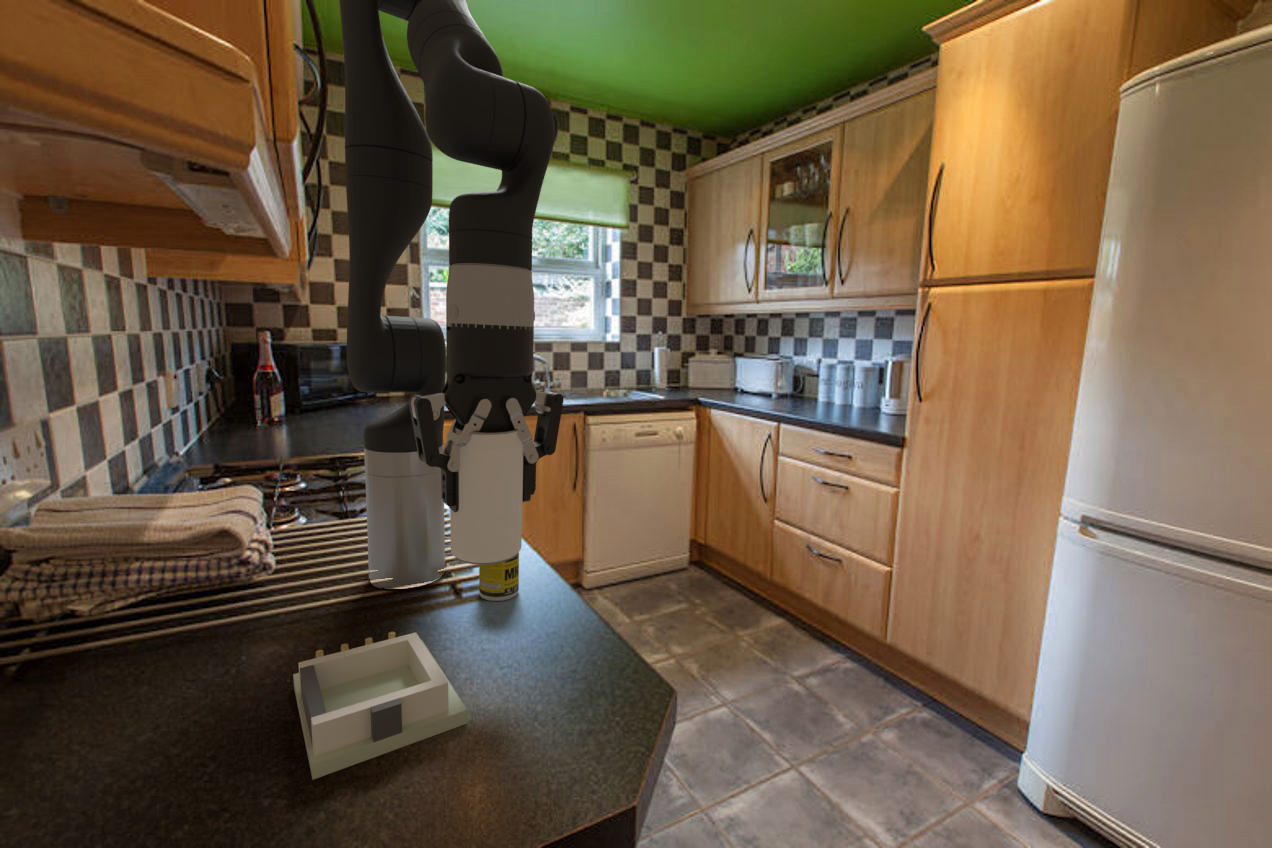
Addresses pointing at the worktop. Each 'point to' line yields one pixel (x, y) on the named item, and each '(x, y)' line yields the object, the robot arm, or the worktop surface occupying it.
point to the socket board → (372, 701)
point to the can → (488, 499)
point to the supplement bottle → (499, 580)
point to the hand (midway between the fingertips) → (489, 503)
